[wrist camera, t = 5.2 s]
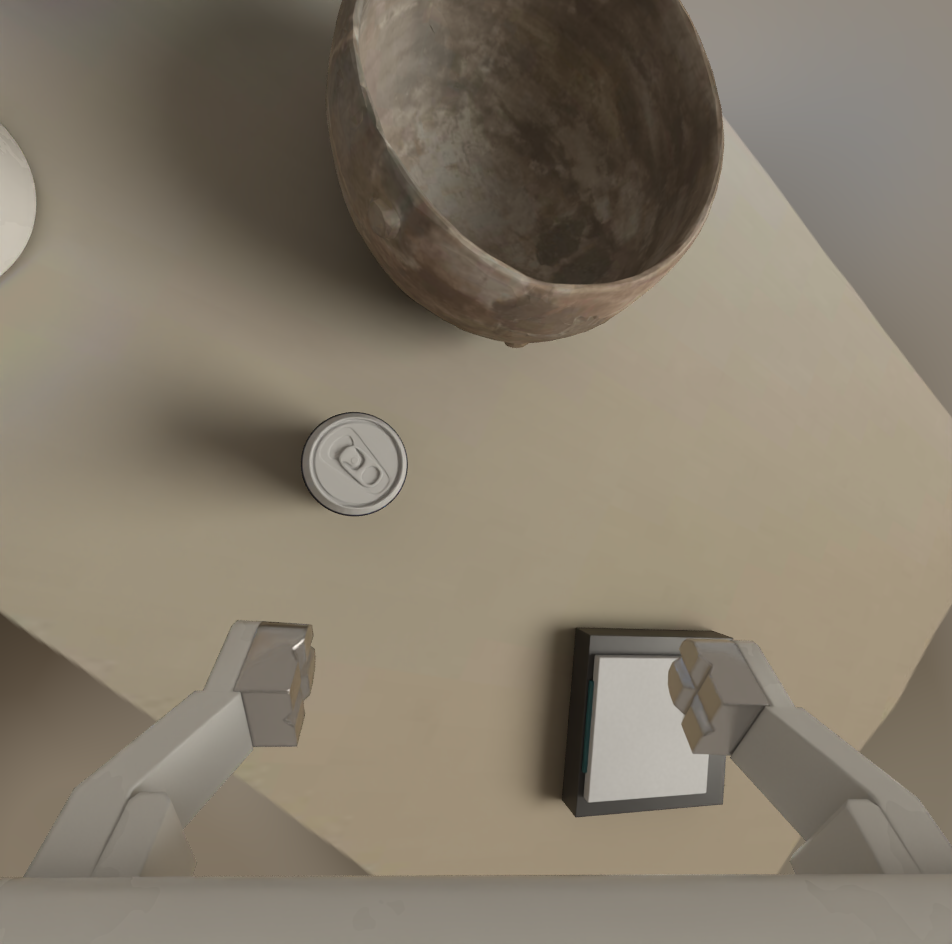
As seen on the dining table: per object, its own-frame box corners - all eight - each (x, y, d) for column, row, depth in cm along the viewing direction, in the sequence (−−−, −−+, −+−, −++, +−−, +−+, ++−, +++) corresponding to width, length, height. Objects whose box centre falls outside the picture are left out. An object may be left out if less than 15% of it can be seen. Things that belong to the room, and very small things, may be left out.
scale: (561, 800, 43) (580, 824, 40) (575, 627, 44) (595, 637, 41) (703, 789, 47) (730, 810, 44) (713, 631, 48) (740, 640, 45)
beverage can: (344, 416, 39) (356, 386, 27) (399, 469, 40) (433, 461, 28) (288, 471, 38) (275, 463, 26) (346, 525, 39) (359, 540, 27)
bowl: (472, 434, 42) (553, 406, 27) (246, 183, 37) (201, -7, 23) (657, 254, 47) (805, 152, 33) (478, 18, 43) (559, -219, 28)
